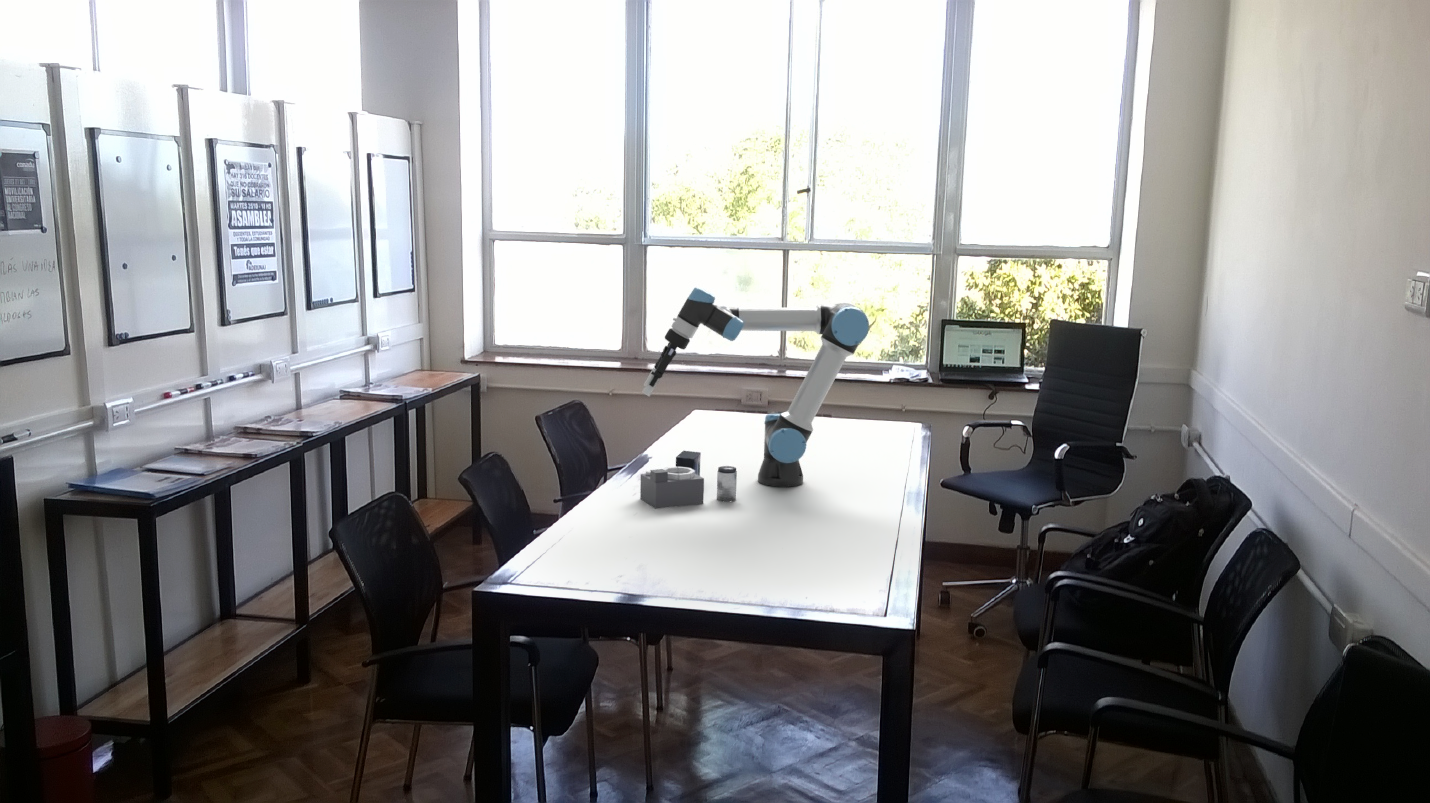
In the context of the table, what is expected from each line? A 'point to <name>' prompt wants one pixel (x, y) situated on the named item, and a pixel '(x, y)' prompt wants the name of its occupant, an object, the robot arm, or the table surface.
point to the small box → (689, 460)
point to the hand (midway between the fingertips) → (646, 390)
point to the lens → (726, 483)
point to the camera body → (671, 487)
